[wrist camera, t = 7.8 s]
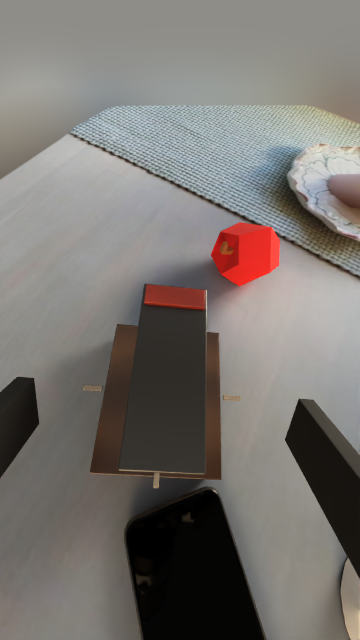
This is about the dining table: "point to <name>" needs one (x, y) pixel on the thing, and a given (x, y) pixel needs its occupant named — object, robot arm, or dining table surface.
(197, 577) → the smartphone
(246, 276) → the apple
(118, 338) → the base
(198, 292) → the dark grey block
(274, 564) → the dining table surface
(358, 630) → the cup
